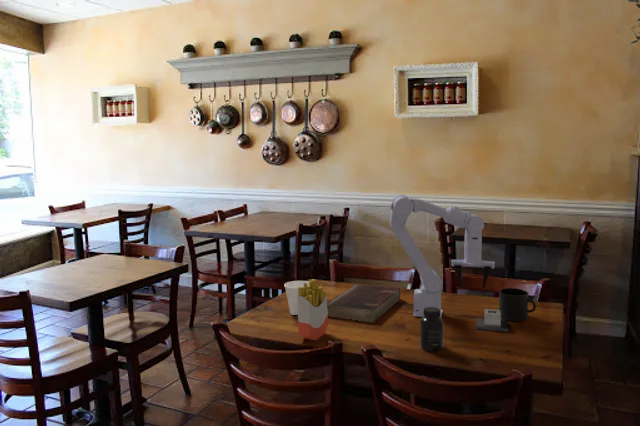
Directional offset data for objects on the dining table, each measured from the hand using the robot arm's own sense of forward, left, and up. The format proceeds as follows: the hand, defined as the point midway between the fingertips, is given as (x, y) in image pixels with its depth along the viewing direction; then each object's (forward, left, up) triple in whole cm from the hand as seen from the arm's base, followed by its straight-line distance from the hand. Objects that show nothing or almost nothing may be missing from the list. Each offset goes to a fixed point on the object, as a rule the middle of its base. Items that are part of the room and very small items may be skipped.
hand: (472, 286), depth 184 cm
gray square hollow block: (+7, -11, -9) cm, 16 cm away
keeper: (+7, -11, -10) cm, 16 cm away
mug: (+15, 0, -10) cm, 18 cm away
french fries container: (-47, -35, -10) cm, 59 cm away
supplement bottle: (-10, -34, -10) cm, 37 cm away
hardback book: (-39, -2, -11) cm, 40 cm away
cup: (-60, -15, -10) cm, 63 cm away
